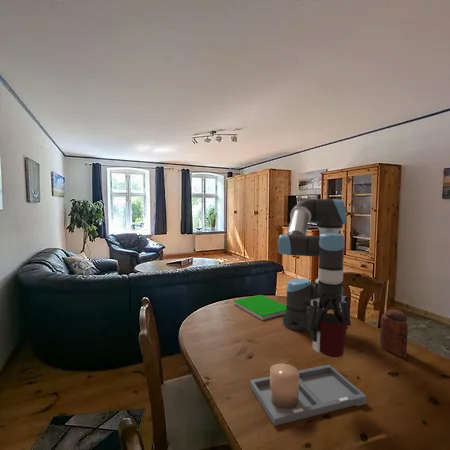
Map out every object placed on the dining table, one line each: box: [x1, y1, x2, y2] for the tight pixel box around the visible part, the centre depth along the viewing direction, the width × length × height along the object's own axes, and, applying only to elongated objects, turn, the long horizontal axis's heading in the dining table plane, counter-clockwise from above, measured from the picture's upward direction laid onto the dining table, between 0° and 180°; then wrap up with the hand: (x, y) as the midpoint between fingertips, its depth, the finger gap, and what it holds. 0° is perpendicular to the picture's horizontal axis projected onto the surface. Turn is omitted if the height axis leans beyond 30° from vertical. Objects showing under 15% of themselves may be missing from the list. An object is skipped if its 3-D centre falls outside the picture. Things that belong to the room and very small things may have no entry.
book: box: [233, 294, 287, 321], centre depth 168 cm, size 22×28×3 cm
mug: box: [318, 312, 347, 358], centre depth 93 cm, size 12×9×11 cm
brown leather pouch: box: [379, 309, 409, 359], centre depth 119 cm, size 12×6×18 cm, turn 28°
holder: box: [249, 364, 367, 427], centre depth 92 cm, size 32×18×3 cm, turn 108°
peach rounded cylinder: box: [269, 362, 299, 409], centre depth 89 cm, size 9×9×9 cm
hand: (327, 348), depth 93 cm, fingers closed on mug, 8 cm apart
